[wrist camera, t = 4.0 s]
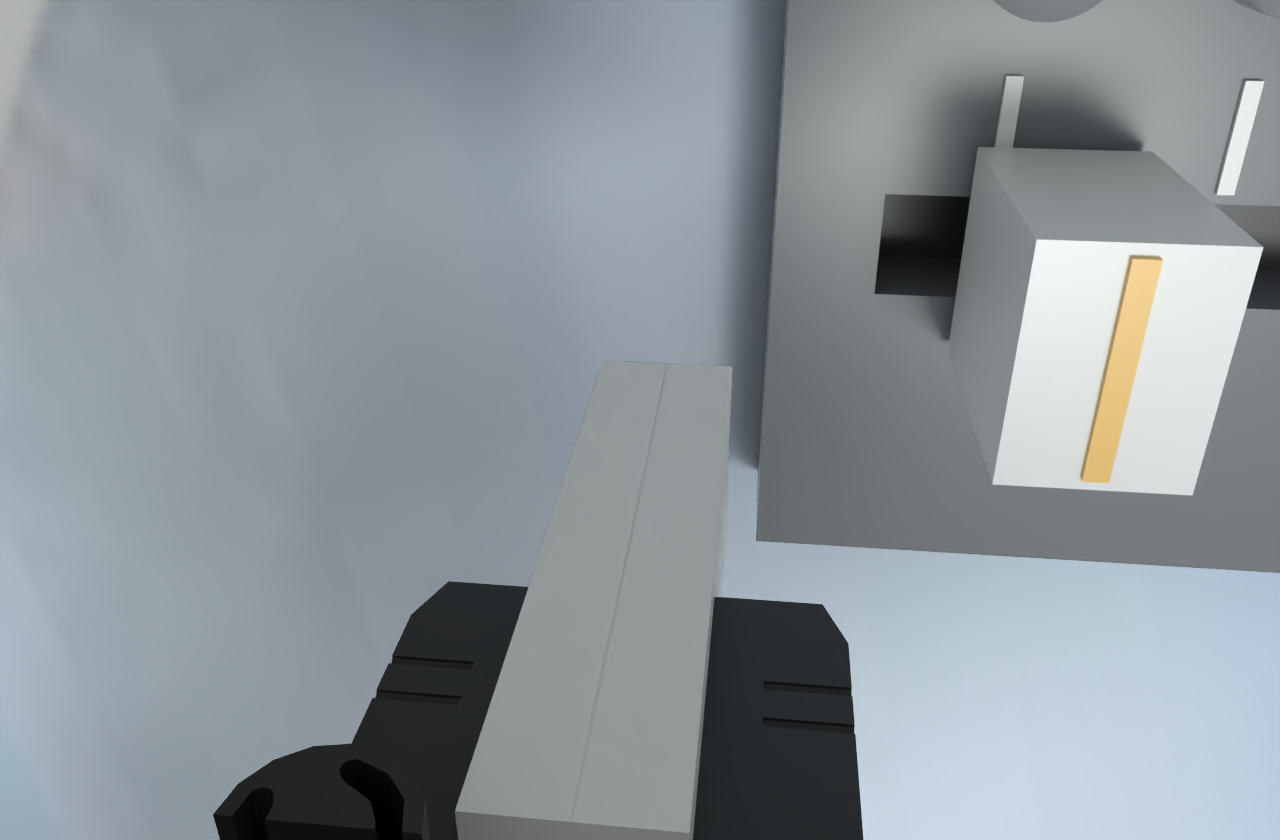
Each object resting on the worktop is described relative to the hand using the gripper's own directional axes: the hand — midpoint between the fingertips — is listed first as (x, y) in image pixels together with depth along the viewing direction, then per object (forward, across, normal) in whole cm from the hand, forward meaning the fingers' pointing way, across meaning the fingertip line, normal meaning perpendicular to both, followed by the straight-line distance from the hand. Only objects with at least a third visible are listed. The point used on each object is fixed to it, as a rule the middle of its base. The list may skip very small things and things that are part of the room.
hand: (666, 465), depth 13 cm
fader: (+11, +6, 0) cm, 13 cm away
